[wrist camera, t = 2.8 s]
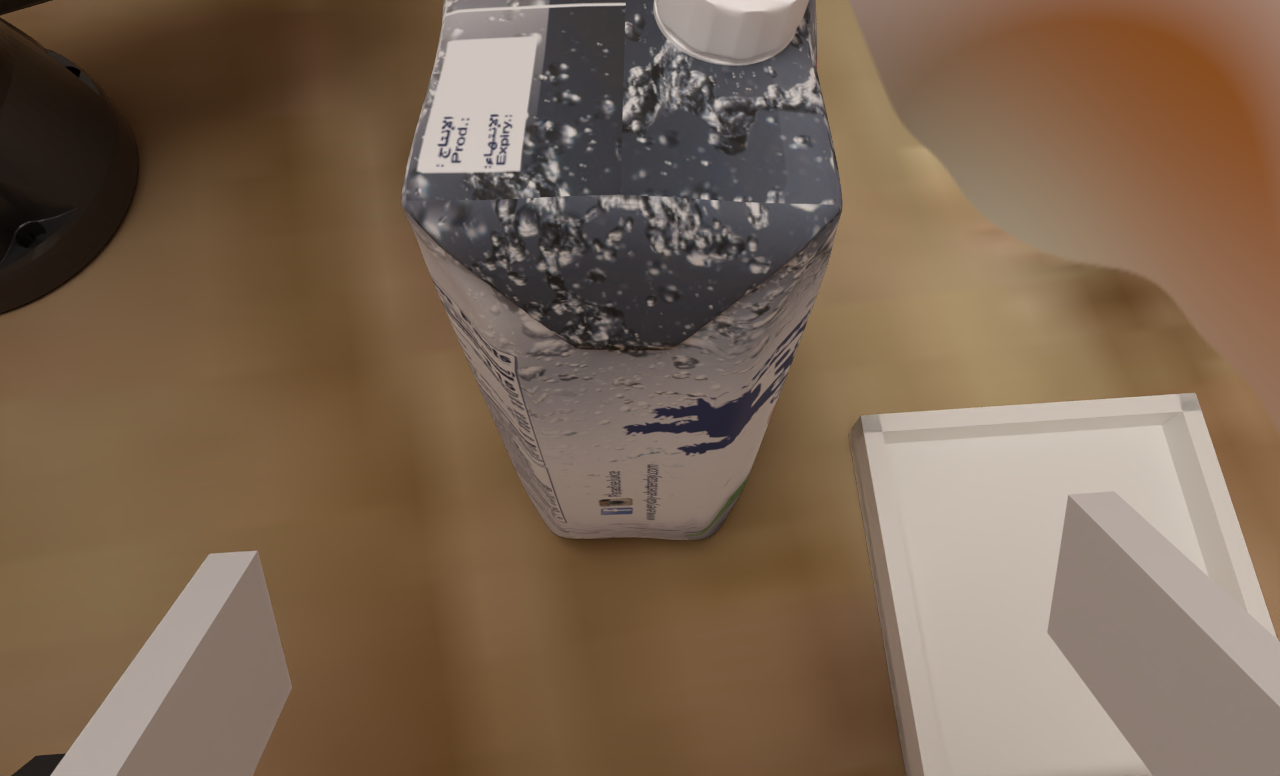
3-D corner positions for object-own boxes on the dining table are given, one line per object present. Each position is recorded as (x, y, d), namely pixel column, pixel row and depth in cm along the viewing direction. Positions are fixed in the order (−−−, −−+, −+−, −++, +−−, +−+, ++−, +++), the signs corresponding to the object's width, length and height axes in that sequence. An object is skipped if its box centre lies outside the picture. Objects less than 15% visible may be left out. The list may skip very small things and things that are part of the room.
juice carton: (529, 559, 39) (323, 195, 14) (543, 339, 43) (403, -256, 18) (736, 562, 38) (911, 202, 14) (730, 341, 42) (856, -253, 18)
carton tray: (848, 435, 41) (860, 415, 38) (1164, 413, 41) (1195, 392, 39) (912, 813, 35) (931, 817, 32) (1281, 784, 35) (1326, 786, 33)
